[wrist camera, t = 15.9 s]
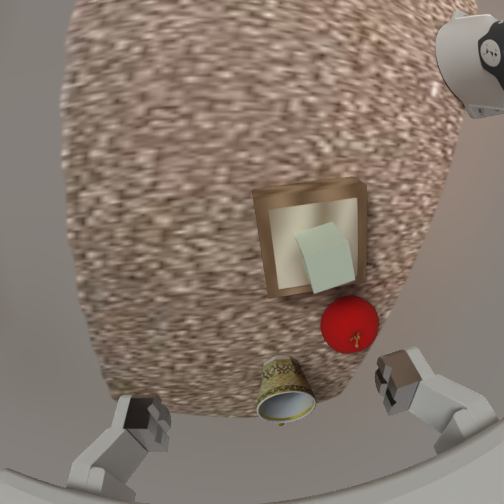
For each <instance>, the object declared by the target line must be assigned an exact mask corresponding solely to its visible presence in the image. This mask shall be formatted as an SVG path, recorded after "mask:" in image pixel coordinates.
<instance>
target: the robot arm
mask: <svg viewBox="0 0 504 504" xmlns="http://www.w3.org/2000/svg"><path fill="white" fill-rule="evenodd" d="M436 57H437V62H438V65H439V68H440V71H441V74H442V76H443V78H444V80H445V82H446V83H447V85H448V86H449V88H450V89H451V91H452V92H453V93H454V94H455V95H456V96H457V97H458V98H459V99H460V100H461V101H462V102H463V104H464V106H465V108H466V110H467V112H468V114H469V115H470V117H472V118H482V117H487V116H493V115H498V114H504V20H501V21H498V20H497V19H496V18H494V17H492V16H491V15H489V14H484V15H474V16H469V15H468V14H466V13H464V12H462V11H455V12H454V13H453V15H452V17H451V20H450V21H449V22H448V23H446V24H445V25H443V26H442V27H441V29H440V30H439V32H438V34H437V38H436ZM478 110H479V111H478ZM377 365H378V367H379V368H378V369H377V370H376V372H375V383H376V387H377V390H378V392H379V394H380V395H382V396H384V401H383V404H384V406H385V408H386V411H387V413H388V415H389V416H390V415H393V414H397V413H400V412H403V411H406V410H409V411H410V412H411V413H413V414H414V415H416V416H417V417H419V418H420V419H422V420H423V421H424V422H426V423H427V424H428V425H430V426H431V427H433V428H434V429H436V430H437V431H438V432H440V433H441V435H440V437H439V438H438V440H437V441H436V443H435V445H434V448H435V451H436V453H437V455H436V456H434V457H432V458H430V459H427V460H425V461H423V462H421V463H418V464H416V465H413V466H411V467H408V468H406V469H404V470H401V471H398V472H395V473H393V474H390V475H387V476H384V477H381V478H379V479H375V480H372V481H369V482H366V483H362V484H359V485H356V486H352V487H348V488H345V489H341V490H337V491H333V492H329V493H324V494H319V495H314V496H309V497H305V498H299V499H292V500H286V501H279V502H271V503H262V504H504V418H502V419H501V420H498V418H497V416H496V414H495V413H494V411H493V409H492V408H491V406H490V405H489V403H488V401H487V400H486V398H485V397H484V396H482V395H480V394H478V393H476V392H474V391H472V390H470V389H468V388H466V387H463V386H462V385H460V384H458V383H456V382H453V381H451V380H449V379H447V378H445V377H443V376H441V375H439V374H438V375H435V374H434V373H433V371H432V369H431V368H430V366H429V365H428V363H427V362H426V360H425V358H424V357H423V355H422V354H421V352H420V351H419V349H418V347H416V346H412V347H410V348H406V349H404V350H399V351H397V352H393V353H391V354H387V355H384V356H381V357H379V358H378V361H377ZM161 402H162V399H161V398H160V397H159V395H122V396H121V397H120V398H119V401H118V404H117V408H116V412H115V415H114V419H113V422H112V426H111V428H108V429H107V430H106V431H105V432H103V434H102V435H100V436H99V437H98V438H97V439H96V440H95V441H94V442H93V443H92V444H91V445H90V446H89V447H88V448H87V449H86V450H85V451H84V452H83V453H82V454H81V455H80V456H79V457H78V458H77V459H76V460H75V461H74V462H73V464H72V468H71V471H70V475H69V479H68V483H67V487H66V488H64V487H61V486H57V485H54V484H51V483H48V482H45V481H42V480H38V479H36V478H33V477H30V476H27V475H25V474H22V473H20V472H17V471H14V470H12V469H9V468H5V469H3V470H1V471H0V504H147V503H139V502H135V494H136V493H135V492H134V490H132V489H131V488H129V487H128V486H126V485H125V483H126V482H127V481H128V479H129V478H130V477H131V475H132V474H133V473H134V471H135V470H136V469H137V467H138V466H139V464H140V463H141V462H142V460H143V459H144V458H145V456H146V455H147V454H148V452H167V451H168V444H169V436H168V435H167V434H166V433H167V432H168V430H169V429H170V428H171V416H170V413H169V410H168V408H167V407H166V406H164V405H163V404H161Z"/></svg>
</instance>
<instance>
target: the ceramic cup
mask: <svg viewBox="0 0 504 504" xmlns="http://www.w3.org/2000/svg"><path fill="white" fill-rule="evenodd" d="M315 407H316V399H315V396H314V394H313V392H312V390H311V388H310V386H309V384H308V382H307V380H306V378H305V376H304V374H303V372H302V370H301V368H300V366H299V364H298V362H297V361H296V360H294V359H293V358H292V357H290V356H289V355H276V356H274V357H272V358H271V359H269V360H268V361H266V362H265V363H264V365H263V373H262V382H261V387H260V391H259V395H258V402H257V414H258V415H259V417H260V418H262V419H263V420H266V421H268V422H272V423H278V425H279V426H282V425H284V423H288V422H293V421H297V420H300V419H302V418H304V417H306V416H307V415H309V414H310V413H311V412H312V411H313V410H314V409H315Z"/></svg>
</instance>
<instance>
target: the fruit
mask: <svg viewBox="0 0 504 504" xmlns="http://www.w3.org/2000/svg"><path fill="white" fill-rule="evenodd" d="M378 327H379V318H378V315H377V312H376V310H375V308H374V307H373V306H372V305H371V304H370V303H369V302H367V301H365V300H364V299H362V298H360V297H356V296H344V297H341V298H339V299H337V300H336V301H334V302H332V303H331V304H330V305H329V306H328V307H327V308H326V310H325V311H324V313H323V315H322V318H321V332H322V335H323V338H324V340H325V341H326V342H327V344H328V345H329V346H330V347H331V348H332V349H334V350H335V351H338V352H340V353H348V354H349V353H354V352H358V351H361V350H364V349H366V348H368V347H369V346H370V345H371V344H372V343H373V341H374V340H375V338H376V336H377V332H378Z"/></svg>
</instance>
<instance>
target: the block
mask: <svg viewBox="0 0 504 504" xmlns="http://www.w3.org/2000/svg"><path fill="white" fill-rule="evenodd" d="M294 236H295V239H296V242H297V246H298V249H299V253H300V256H301V260H302V263H303V267H304V269H305V272H306V274H307V277H308V279H309V282H310V284H311V287H312V290H313V292H314V294H315V293H318V292H321V291H324V290H327V289H330V288H333V287H336V286H339V285H342V284H345V283H348V282H351V281H353V280H355V275H354V269H353V263H352V257H351V252H350V247H349V242H348V240H347V239H346V238H345V237H344V235H343V234H342V233H341V232H340V230H339V229H338V228H337V227H336V225H335V224H334V223H333V222H329V223H326V224H323V225H320V226H317V227H314V228H311V229H308V230H305V231H301V232H298V233H295V234H294Z"/></svg>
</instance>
